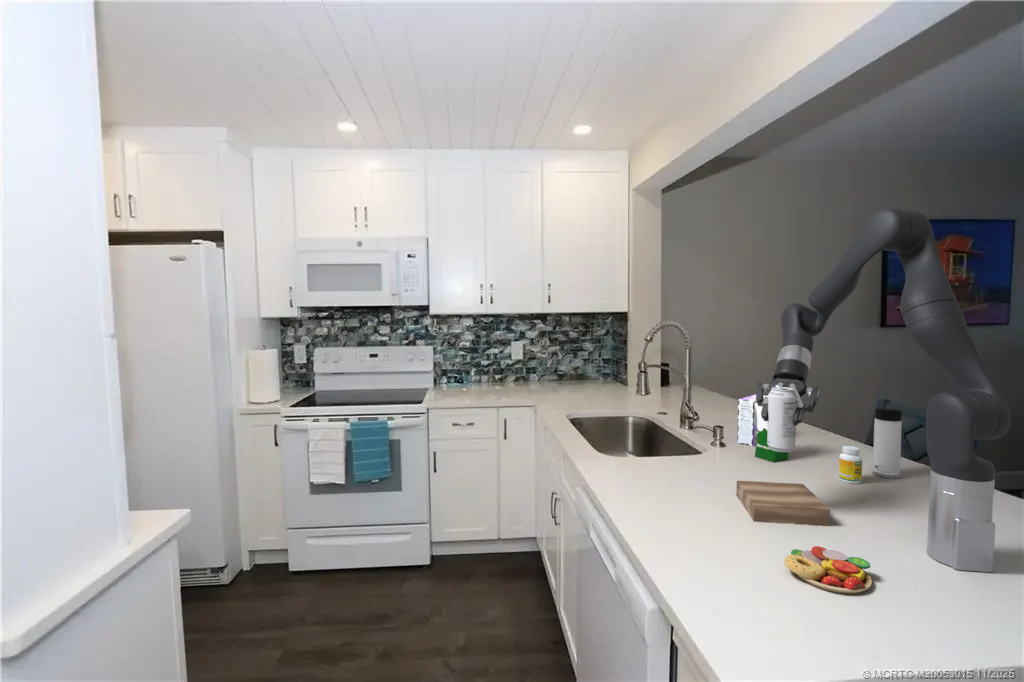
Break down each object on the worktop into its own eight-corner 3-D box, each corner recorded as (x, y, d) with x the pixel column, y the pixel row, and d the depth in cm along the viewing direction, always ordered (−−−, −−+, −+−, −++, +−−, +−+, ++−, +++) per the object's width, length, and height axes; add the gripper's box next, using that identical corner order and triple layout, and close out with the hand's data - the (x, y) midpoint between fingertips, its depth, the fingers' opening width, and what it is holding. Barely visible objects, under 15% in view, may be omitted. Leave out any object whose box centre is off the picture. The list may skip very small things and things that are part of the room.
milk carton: (793, 459, 160) (794, 398, 158) (773, 463, 156) (775, 401, 155) (768, 452, 168) (770, 394, 166) (749, 456, 164) (751, 396, 163)
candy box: (754, 436, 188) (754, 393, 187) (770, 439, 184) (771, 395, 182) (736, 443, 179) (737, 398, 178) (752, 446, 175) (753, 400, 174)
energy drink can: (779, 444, 125) (780, 385, 124) (801, 451, 119) (802, 389, 118) (761, 447, 123) (762, 387, 122) (782, 454, 117) (784, 391, 116)
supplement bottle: (844, 476, 144) (845, 443, 143) (865, 481, 140) (866, 448, 139) (835, 480, 141) (836, 447, 141) (856, 485, 137) (857, 451, 136)
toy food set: (777, 576, 93) (777, 560, 93) (799, 551, 102) (799, 536, 102) (863, 606, 83) (863, 588, 83) (878, 575, 93) (879, 559, 92)
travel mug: (874, 477, 143) (877, 409, 141) (870, 470, 148) (873, 404, 147) (901, 481, 140) (904, 411, 138) (896, 473, 146) (899, 406, 144)
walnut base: (829, 526, 113) (830, 509, 112) (753, 521, 116) (754, 504, 115) (802, 498, 128) (802, 483, 128) (736, 495, 131) (736, 480, 131)
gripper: (759, 356, 130) (745, 408, 122) (823, 359, 120) (812, 416, 112) (764, 373, 134) (751, 425, 126) (826, 378, 125) (816, 434, 117)
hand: (780, 421), depth 119 cm, fingers closed on energy drink can, 6 cm apart
